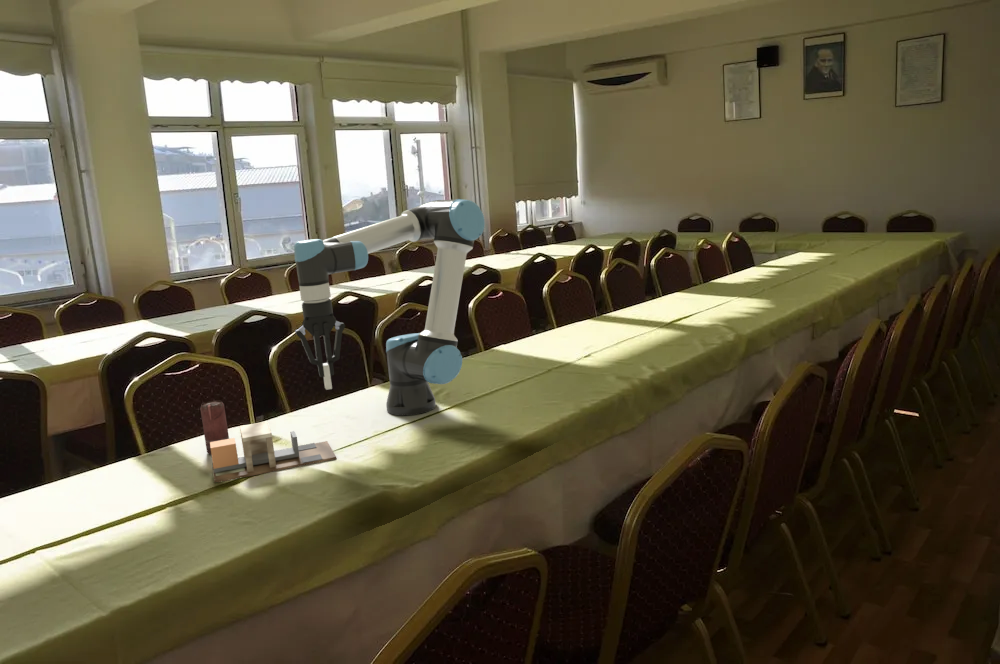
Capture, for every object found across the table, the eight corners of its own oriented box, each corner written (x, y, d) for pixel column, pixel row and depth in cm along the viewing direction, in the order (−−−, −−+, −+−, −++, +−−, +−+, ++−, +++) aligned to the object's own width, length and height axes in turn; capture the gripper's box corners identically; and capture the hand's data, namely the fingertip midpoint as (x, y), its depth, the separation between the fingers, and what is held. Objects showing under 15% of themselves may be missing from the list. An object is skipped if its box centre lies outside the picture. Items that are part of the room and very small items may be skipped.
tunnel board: (327, 443, 215) (323, 409, 213) (336, 459, 203) (332, 423, 201) (212, 464, 205) (207, 430, 203) (214, 483, 192) (208, 446, 190)
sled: (296, 450, 208) (293, 427, 207) (299, 456, 203) (296, 432, 202) (213, 466, 201) (209, 442, 199) (214, 472, 196) (210, 448, 195)
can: (206, 457, 211) (198, 407, 208) (208, 449, 217) (200, 401, 214) (229, 453, 212) (222, 404, 210) (231, 446, 218) (224, 398, 216)
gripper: (338, 294, 207) (350, 380, 212) (288, 301, 202) (301, 389, 207) (344, 298, 200) (355, 386, 205) (292, 306, 195) (305, 396, 200)
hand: (328, 387), depth 206 cm, fingers closed
